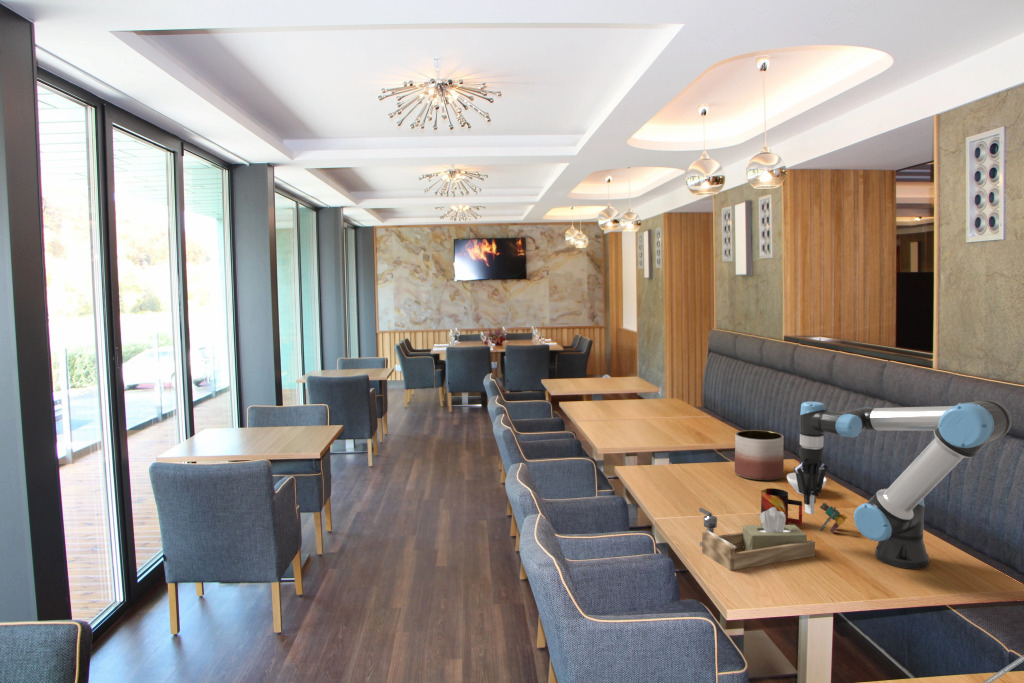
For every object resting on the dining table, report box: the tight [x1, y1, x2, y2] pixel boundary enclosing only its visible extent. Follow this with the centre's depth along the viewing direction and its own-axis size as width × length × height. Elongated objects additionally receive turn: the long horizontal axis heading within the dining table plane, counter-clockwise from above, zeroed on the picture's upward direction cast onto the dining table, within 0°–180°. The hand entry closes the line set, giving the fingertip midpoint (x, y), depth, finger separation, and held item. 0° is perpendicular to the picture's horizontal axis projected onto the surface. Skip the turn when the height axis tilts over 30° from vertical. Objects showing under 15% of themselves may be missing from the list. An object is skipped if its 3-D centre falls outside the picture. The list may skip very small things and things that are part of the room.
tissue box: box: [741, 507, 808, 551], centre depth 222 cm, size 19×10×16 cm, turn 89°
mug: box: [760, 487, 803, 525], centre depth 249 cm, size 10×14×12 cm
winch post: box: [698, 507, 718, 547], centre depth 229 cm, size 8×5×12 cm, turn 18°
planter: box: [734, 429, 785, 482], centre depth 313 cm, size 22×22×20 cm
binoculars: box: [819, 502, 848, 534], centre depth 241 cm, size 9×9×10 cm
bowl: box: [786, 472, 827, 496], centre depth 285 cm, size 16×16×7 cm
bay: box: [701, 529, 816, 571], centre depth 220 cm, size 15×34×8 cm, turn 108°
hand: (809, 512), depth 227 cm, fingers closed
